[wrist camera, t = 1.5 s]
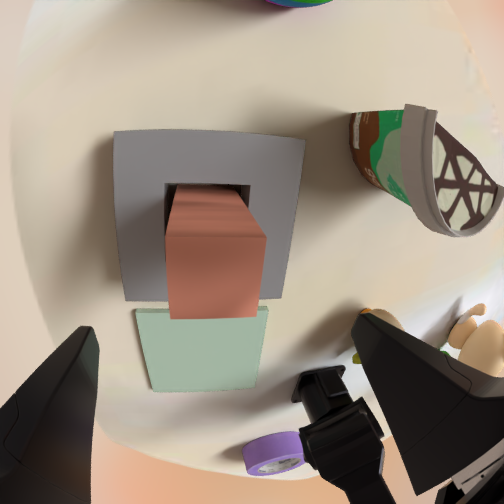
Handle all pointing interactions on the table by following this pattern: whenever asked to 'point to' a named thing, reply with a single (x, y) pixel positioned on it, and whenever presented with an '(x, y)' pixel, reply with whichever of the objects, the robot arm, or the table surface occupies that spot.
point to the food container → (424, 169)
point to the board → (201, 351)
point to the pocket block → (200, 171)
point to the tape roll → (273, 454)
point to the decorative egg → (298, 3)
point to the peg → (212, 254)
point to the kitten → (478, 342)
